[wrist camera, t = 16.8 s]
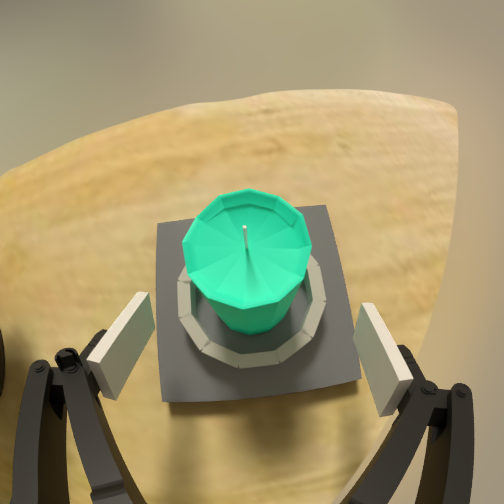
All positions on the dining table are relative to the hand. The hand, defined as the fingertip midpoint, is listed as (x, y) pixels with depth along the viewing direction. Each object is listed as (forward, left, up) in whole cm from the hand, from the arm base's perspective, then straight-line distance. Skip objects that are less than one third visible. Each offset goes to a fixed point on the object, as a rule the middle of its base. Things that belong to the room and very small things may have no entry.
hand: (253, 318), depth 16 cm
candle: (0, +3, -5) cm, 6 cm away
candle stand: (0, +3, -7) cm, 7 cm away
